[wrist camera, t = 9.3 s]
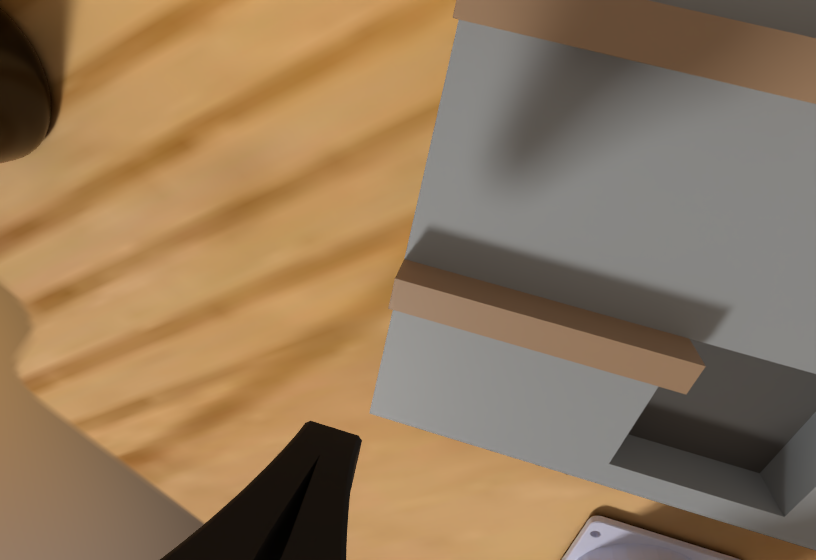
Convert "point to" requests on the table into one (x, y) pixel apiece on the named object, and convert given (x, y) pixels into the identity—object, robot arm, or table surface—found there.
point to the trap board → (623, 252)
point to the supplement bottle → (21, 94)
